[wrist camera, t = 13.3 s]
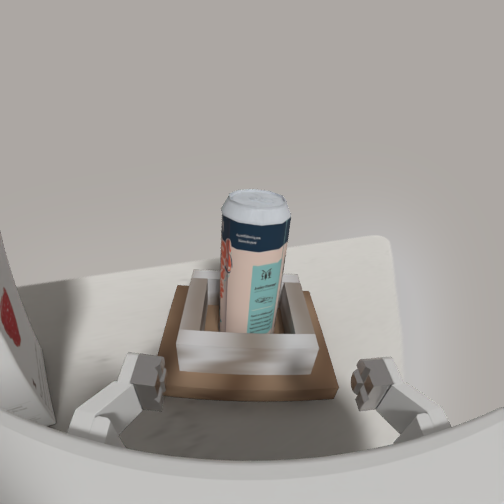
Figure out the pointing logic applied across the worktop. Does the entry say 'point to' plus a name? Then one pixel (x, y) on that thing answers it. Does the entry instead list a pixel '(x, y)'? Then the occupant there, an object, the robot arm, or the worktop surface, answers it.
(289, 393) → the socket base
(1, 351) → the supplement box
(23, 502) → the robot arm
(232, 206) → the beer can
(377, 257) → the worktop surface
